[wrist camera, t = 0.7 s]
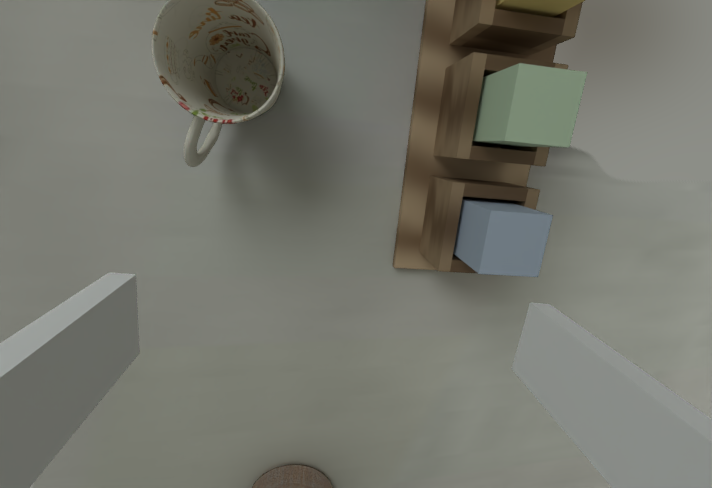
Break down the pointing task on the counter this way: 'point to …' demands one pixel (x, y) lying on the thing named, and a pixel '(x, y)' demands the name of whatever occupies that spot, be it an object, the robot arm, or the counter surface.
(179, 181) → the counter surface
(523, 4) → the button ochre
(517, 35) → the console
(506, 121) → the button sage
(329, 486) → the planter
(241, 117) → the mug
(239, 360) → the counter surface
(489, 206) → the button slate
